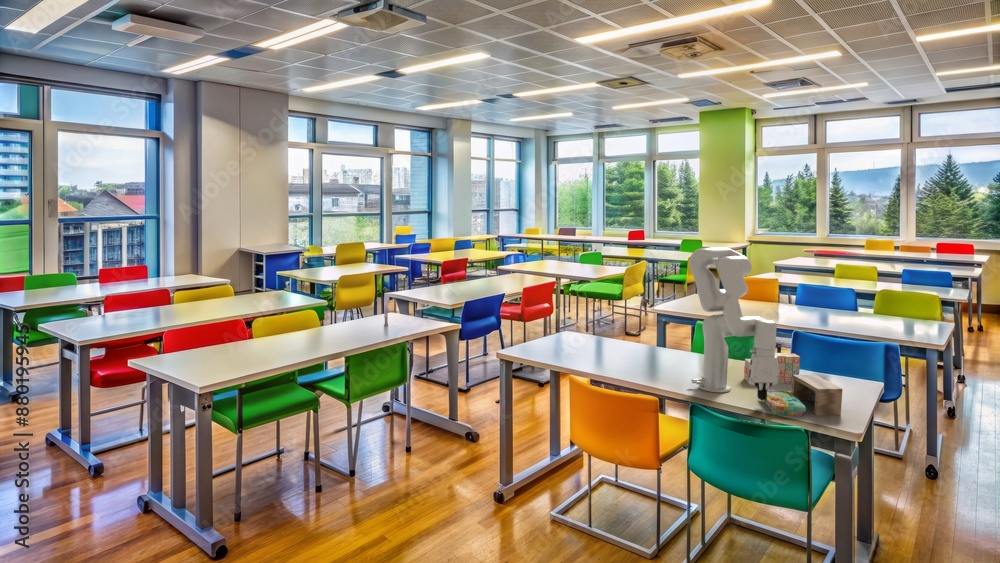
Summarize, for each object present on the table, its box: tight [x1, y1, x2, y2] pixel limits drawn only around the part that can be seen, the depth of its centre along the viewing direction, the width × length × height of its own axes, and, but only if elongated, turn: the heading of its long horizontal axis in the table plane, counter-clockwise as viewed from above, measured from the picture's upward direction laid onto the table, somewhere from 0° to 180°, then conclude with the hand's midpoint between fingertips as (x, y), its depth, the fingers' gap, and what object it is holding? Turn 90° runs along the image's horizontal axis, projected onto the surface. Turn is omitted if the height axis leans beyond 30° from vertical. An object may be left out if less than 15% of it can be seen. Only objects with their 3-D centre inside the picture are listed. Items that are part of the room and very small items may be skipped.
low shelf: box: [791, 374, 843, 416], centre depth 230 cm, size 9×19×10 cm, turn 0°
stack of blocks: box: [743, 352, 801, 384], centre depth 265 cm, size 21×6×12 cm, turn 85°
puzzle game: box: [763, 389, 807, 417], centre depth 230 cm, size 12×5×20 cm
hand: (761, 399), depth 230 cm, fingers closed
